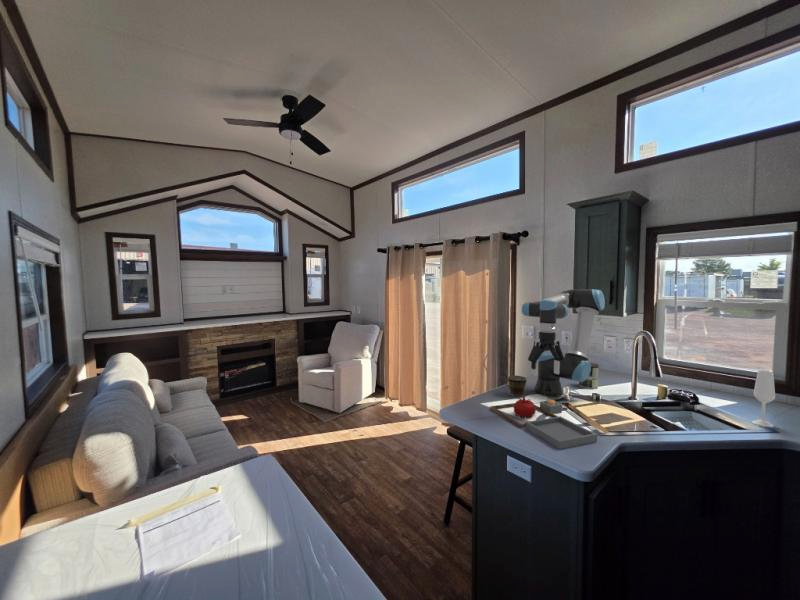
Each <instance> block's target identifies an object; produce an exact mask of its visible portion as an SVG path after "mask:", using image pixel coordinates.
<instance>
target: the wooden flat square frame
mask: <svg viewBox="0 0 800 600" xmlns="http://www.w3.org/2000/svg"><path fill="white" fill-rule="evenodd" d="M515 403H516V402H514V403H512V402H511V403H507V404H506V403H505V404H499V405H498V404H497V405H491V406H489V410H490V411H492V412H493V413H495V414H496V415H499V416H500V417H502V418H503V419H505V420H507V421H508V422H510V423H511V424H513V425H514V426H516V427H518V428H519V429H526V422H523V423H521V422H519V421H517V420H516V419H514V418H512V417H510V416H509V415H507V414H506V413H504V412H502V411H501V409H508V408H514V404H515ZM534 405H535V408H536V411H539V412H540V413H543V414H544V415H546V416H548V417H549V418H553V417H559V416H558V415H556V414H552V413H550V412H548V411H546V410H544V409H542V408H540V406H538V405H536V404H534Z"/></svg>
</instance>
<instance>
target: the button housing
mask: <svg viewBox="0 0 800 600" xmlns="http://www.w3.org/2000/svg"><path fill="white" fill-rule="evenodd" d="M546 402H547V400H543V401H539V407H540V408H542V409H544V410H546V411H548V412H550V413H552V414H554V415H556V414H561V413H563V411H562V410H563V409H562V408H563V405H562V404H561V403H559V402H557V401H555V405H548V404H546Z"/></svg>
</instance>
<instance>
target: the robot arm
mask: <svg viewBox="0 0 800 600" xmlns="http://www.w3.org/2000/svg"><path fill="white" fill-rule="evenodd" d="M605 301H606V300H605V296H604V293H603V291H602V290H601V289H594V288H592V289H581V288H580V289H577V288H575V289H574V288H573V289H567V290H563V291H560V292H557V293H555V294H554V295H553V296H550V297H547V298H544V299H540V300H537V301H533V302H531V301H530V302H524V303H523V304H522V306H521V314H522V315H523V316H525V317H529V318H531V317H533V318H539V322H538V323H539V324H538V330H539V332H538V339H539V341H534V342H533V346H532V348H531V351H530V353H529V356H528V358H527V360H528V362H531V366H530V367H531V375H532V376H534V377H537V380H536V382H535V385H534V389H533V390H534V392H535V394H539V395H541V396H546V397H553V398H554V397H561V396H563V393H564V392H563V391H564V390H563V388H562V387H563V386H562V384H561V381H560V378H561V379H565V380H571V381H574V382H579V381H580V382H583V381H585V380H586V379H587V378H588V376H589V374H590V371H591V364H590V363H591V362H590V361H589V358H588V356H587V352H588V349H589V344H590V339H591V335H592V330H593V326H594V321H595V317H596V316H598V315H599V313H600V311H604V309H605V308H606V307H605V306H606V302H605ZM570 309H575V311H576V312H577V316H576V319H575V325H574V328H573V333H572V337H571V341H570V345H569V348H568V351H567V352H565V353H564V354H563V351H562V348H561V345H560V344H561V342H560V341H559V340H556V338H557V337H556V336H557V335H556V334H557V333H556V330H557V329H556V328H557V320H561V319H565V318H566V317H567V316H569V310H570ZM547 351H549V352H547Z"/></svg>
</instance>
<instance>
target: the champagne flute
mask: <svg viewBox="0 0 800 600" xmlns="http://www.w3.org/2000/svg"><path fill="white" fill-rule="evenodd" d="M756 373H757V374H756V378H755V383H754V389H753V394H752V395H753V396H754V397H755V399H756V400H757V401H758V402H760V403H761V409H760V410H761V411H760V412H761V413H760V415H761V416H760V419H756V420H751V423H753V424H754V425H757V426H761V427H766V428H768V427H769V428H773V427H774V425H773V424H771V422H768V421H766V407H767V406H766V404H769V403H771V402H772V401H774V400H775V399H776V391H775V390H776V389H775V377H774V375H775V374H774V372H772V371H769V370H761V369H760V370H757V372H756Z"/></svg>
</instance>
